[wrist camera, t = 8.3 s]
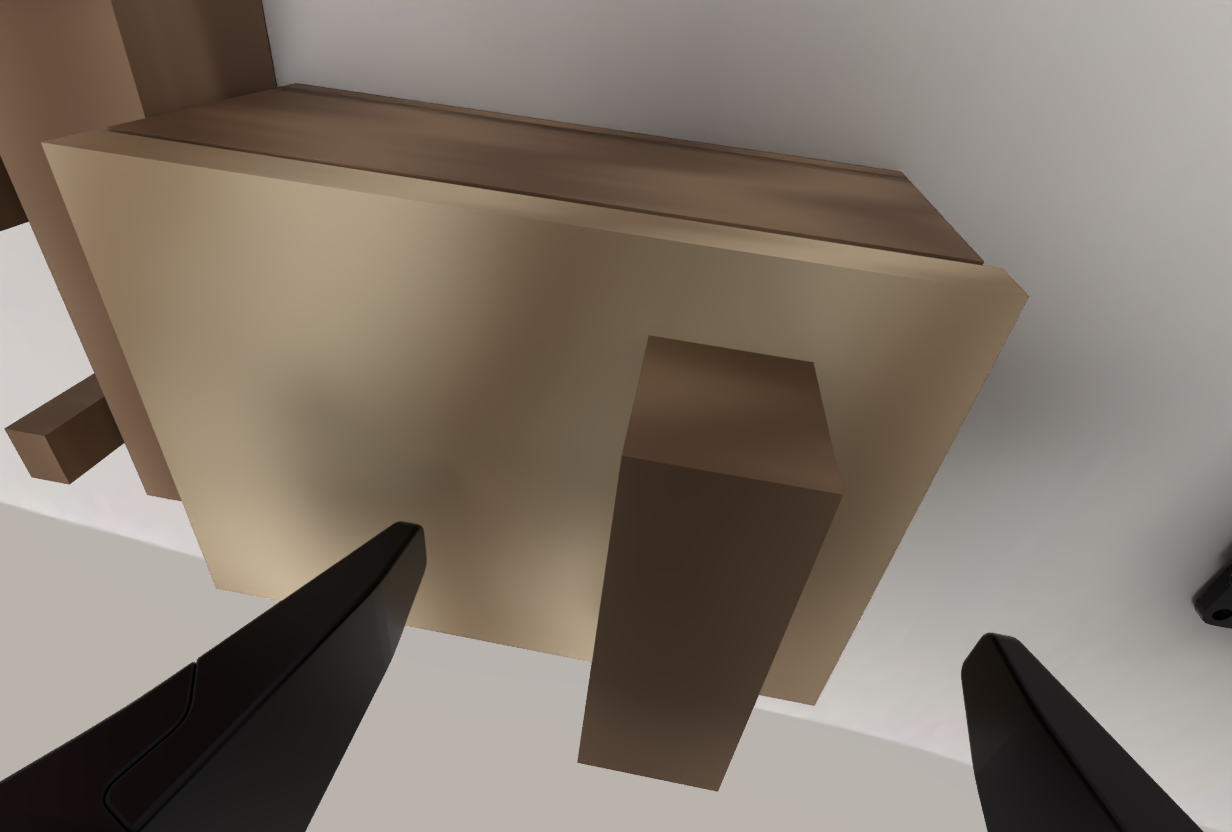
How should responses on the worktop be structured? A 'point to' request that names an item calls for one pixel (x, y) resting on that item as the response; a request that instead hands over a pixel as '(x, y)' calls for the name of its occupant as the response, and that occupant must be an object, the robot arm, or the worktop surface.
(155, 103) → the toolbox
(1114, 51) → the worktop surface
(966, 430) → the worktop surface
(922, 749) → the worktop surface
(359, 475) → the lid
